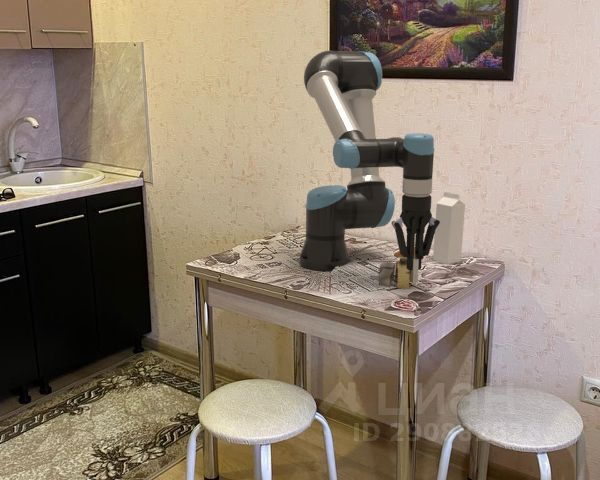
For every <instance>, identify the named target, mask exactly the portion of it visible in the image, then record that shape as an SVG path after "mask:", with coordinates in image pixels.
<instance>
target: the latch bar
mask: <svg viewBox="0 0 600 480" xmlns="http://www.w3.org/2000/svg"><path fill="white" fill-rule="evenodd" d="M399 261H400V259H399V260H397V261H395V273H394V277H396V278H397V284H396V285H397V287H396V288H397V289H410V281H409V277H410V271H409V270H408V269H407V263H401V262H399Z"/></svg>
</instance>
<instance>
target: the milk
mask: <svg viewBox="0 0 600 480" xmlns="http://www.w3.org/2000/svg"><path fill="white" fill-rule="evenodd" d="M460 197H461V196H460V194H458V193H452V192H448V191H444V192H443V197H442V198H440V199H439V200H438V201H437V202H436V207H435V208H436V209H435V210H436V211H435V219H437V220H439V221H440V223H439V225H438V227H437V228H436V230H435V234H434V237H433V241H434V242H433V253H432V260H433V261H436V262H440V263H443V264H446V265H451V264H454V263H458V262H462V247H463V237H464V223H465V209H466V204H465V203H464V202H463V201H462V200H460Z"/></svg>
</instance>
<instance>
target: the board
mask: <svg viewBox="0 0 600 480" xmlns="http://www.w3.org/2000/svg"><path fill="white" fill-rule="evenodd" d="M399 260H400V261H399V262H401V263H407V258H399ZM378 267H379V268H378V269H379V272H378V286H381V287H382V286H383V287H390V286H391V284H392V282H393V281H394V276H395V268H396V262H390V261H382V262H381V264H379V266H378Z"/></svg>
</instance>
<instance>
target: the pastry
mask: <svg viewBox="0 0 600 480" xmlns="http://www.w3.org/2000/svg"><path fill="white" fill-rule="evenodd" d="M393 256H394V257H395V258H399V259H400V258H406V257H404V256H402V255H401V254H400V251H399V250H398V251H397V252H395V253H394V254H393ZM414 257H415V246H414Z"/></svg>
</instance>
